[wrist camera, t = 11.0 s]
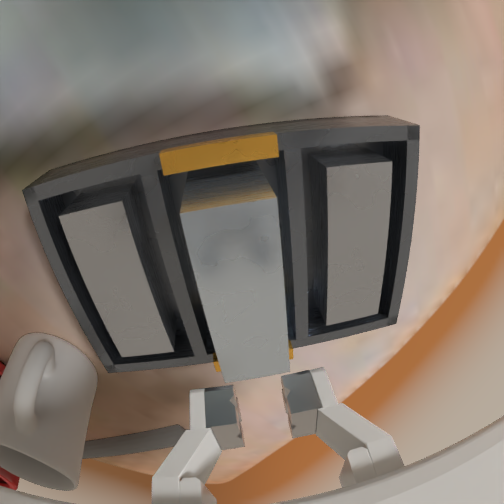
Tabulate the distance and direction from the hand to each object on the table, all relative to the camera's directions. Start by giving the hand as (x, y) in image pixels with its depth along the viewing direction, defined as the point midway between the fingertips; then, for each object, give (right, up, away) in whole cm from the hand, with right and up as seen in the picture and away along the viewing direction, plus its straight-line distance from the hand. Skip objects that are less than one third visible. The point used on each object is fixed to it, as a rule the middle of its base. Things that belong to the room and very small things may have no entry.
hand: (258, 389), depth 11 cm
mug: (-17, -4, +13) cm, 22 cm away
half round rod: (-16, -18, +22) cm, 33 cm away
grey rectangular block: (-1, +5, +9) cm, 10 cm away
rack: (-1, +6, +10) cm, 11 cm away
